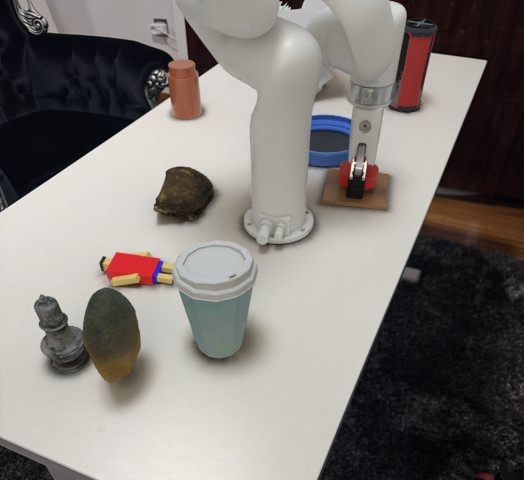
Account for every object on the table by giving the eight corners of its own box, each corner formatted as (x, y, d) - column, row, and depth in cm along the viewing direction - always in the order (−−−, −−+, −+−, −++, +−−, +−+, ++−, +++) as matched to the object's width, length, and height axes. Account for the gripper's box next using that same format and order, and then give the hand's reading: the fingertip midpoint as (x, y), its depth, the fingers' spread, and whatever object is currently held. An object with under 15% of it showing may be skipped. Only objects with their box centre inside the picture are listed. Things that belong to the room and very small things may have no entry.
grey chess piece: (88, 373, 67) (60, 309, 58) (44, 376, 67) (9, 312, 58) (95, 341, 71) (69, 277, 62) (53, 344, 71) (22, 279, 62)
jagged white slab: (271, 104, 117) (263, -26, 105) (257, 102, 131) (249, -14, 118) (352, 97, 120) (353, -31, 108) (330, 95, 134) (329, -18, 122)
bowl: (328, 122, 117) (329, 107, 114) (383, 151, 107) (386, 135, 104) (266, 144, 110) (266, 128, 107) (319, 178, 100) (321, 161, 97)
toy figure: (179, 255, 81) (108, 245, 81) (167, 282, 76) (92, 271, 77) (180, 267, 83) (111, 257, 83) (169, 294, 78) (96, 283, 79)
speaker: (413, 115, 119) (431, 29, 105) (383, 108, 121) (397, 24, 108) (424, 103, 123) (443, 20, 109) (395, 97, 126) (410, 14, 112)
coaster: (385, 210, 92) (386, 206, 92) (321, 203, 94) (322, 200, 93) (387, 177, 100) (388, 173, 99) (328, 171, 102) (328, 168, 101)
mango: (117, 349, 70) (88, 266, 58) (159, 354, 69) (137, 271, 58) (90, 405, 63) (52, 324, 52) (135, 411, 63) (106, 330, 51)
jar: (197, 120, 118) (192, 70, 110) (168, 118, 119) (161, 68, 111) (205, 108, 123) (200, 59, 114) (177, 105, 124) (171, 57, 115)
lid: (339, 168, 98) (341, 157, 96) (377, 172, 97) (379, 160, 95) (336, 188, 93) (337, 176, 91) (375, 192, 92) (378, 180, 90)
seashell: (180, 177, 100) (183, 145, 94) (221, 193, 99) (226, 162, 94) (141, 220, 90) (142, 187, 84) (186, 239, 89) (190, 207, 84)
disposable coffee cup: (171, 335, 71) (153, 251, 60) (233, 305, 75) (227, 221, 64) (208, 382, 66) (196, 299, 54) (274, 347, 70) (275, 263, 58)
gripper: (391, 114, 77) (373, 213, 90) (393, 73, 88) (376, 166, 101) (343, 110, 78) (332, 208, 91) (351, 70, 89) (340, 163, 102)
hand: (355, 185), depth 96 cm, fingers closed on lid, 7 cm apart
